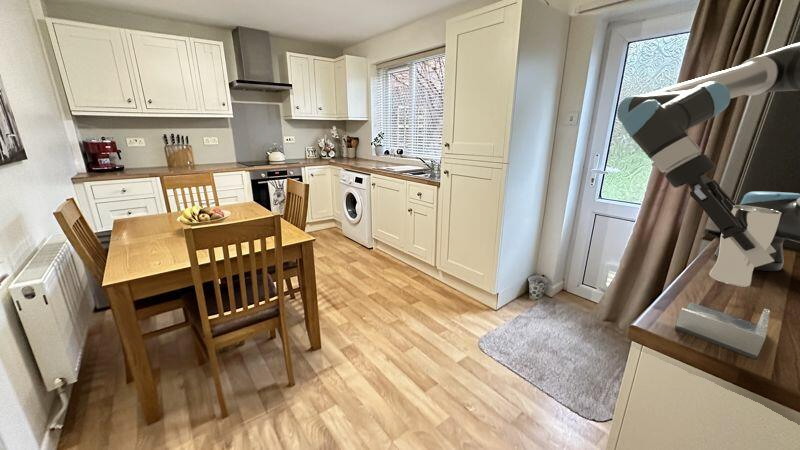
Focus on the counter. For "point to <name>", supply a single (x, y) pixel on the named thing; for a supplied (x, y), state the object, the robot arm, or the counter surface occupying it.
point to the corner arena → (724, 329)
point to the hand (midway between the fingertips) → (765, 258)
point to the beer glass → (730, 259)
